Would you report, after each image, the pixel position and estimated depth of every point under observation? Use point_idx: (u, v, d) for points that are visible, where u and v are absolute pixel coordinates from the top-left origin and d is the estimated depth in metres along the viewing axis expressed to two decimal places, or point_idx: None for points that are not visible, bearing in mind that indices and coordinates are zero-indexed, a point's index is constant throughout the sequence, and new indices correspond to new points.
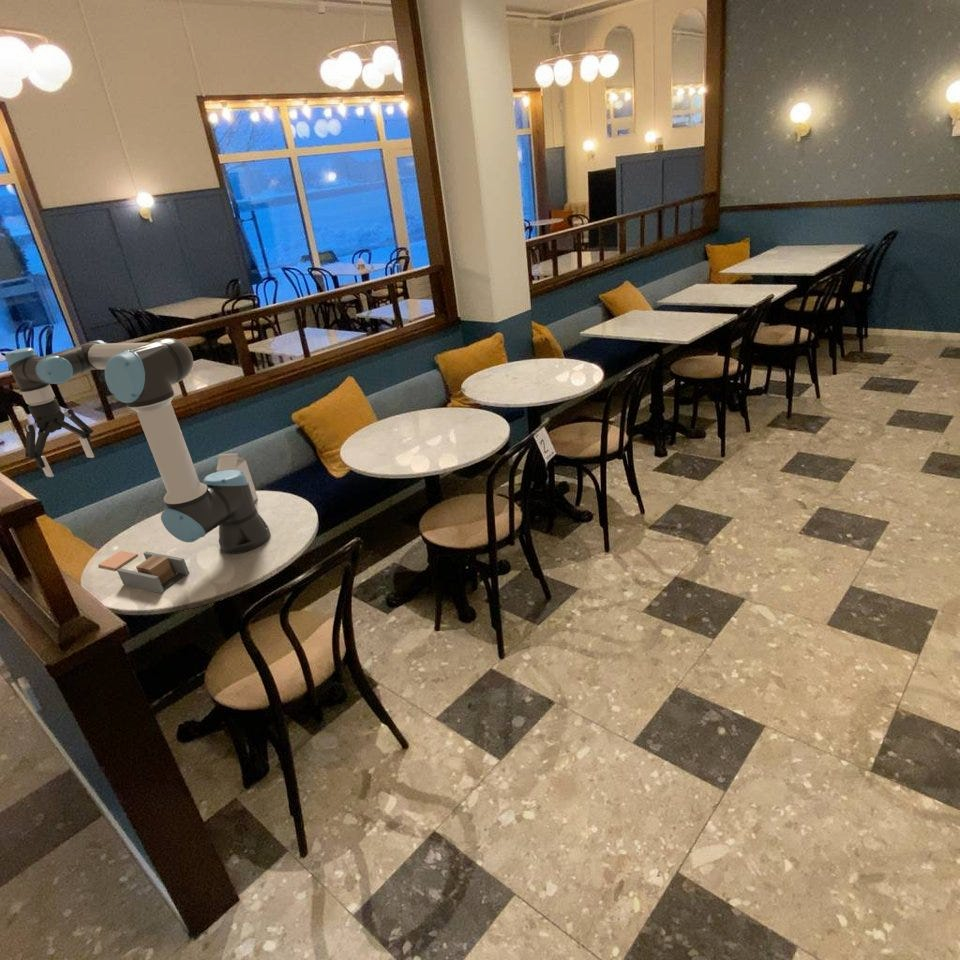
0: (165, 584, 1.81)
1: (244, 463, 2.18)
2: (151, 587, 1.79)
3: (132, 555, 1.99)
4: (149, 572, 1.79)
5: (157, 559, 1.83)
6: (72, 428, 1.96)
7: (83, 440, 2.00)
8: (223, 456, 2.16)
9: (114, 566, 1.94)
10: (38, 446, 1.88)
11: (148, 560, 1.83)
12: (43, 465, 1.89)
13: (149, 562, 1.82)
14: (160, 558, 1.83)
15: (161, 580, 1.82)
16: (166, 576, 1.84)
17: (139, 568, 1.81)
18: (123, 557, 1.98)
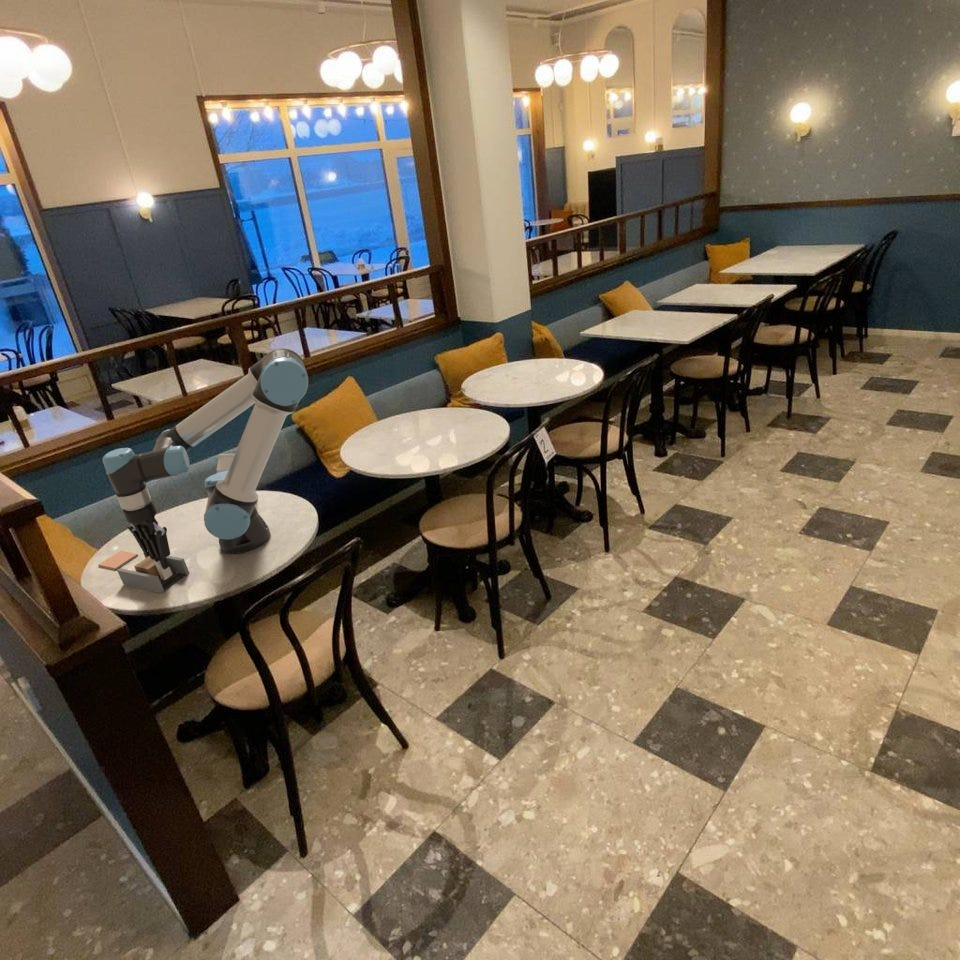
0: (165, 584, 1.81)
1: None
2: (151, 587, 1.79)
3: (132, 555, 1.99)
4: (147, 571, 1.80)
5: None
6: (151, 543, 1.75)
7: None
8: (223, 456, 2.16)
9: (114, 566, 1.94)
10: None
11: (146, 559, 1.84)
12: None
13: (147, 561, 1.83)
14: None
15: (159, 579, 1.82)
16: None
17: (138, 568, 1.81)
18: (123, 557, 1.98)
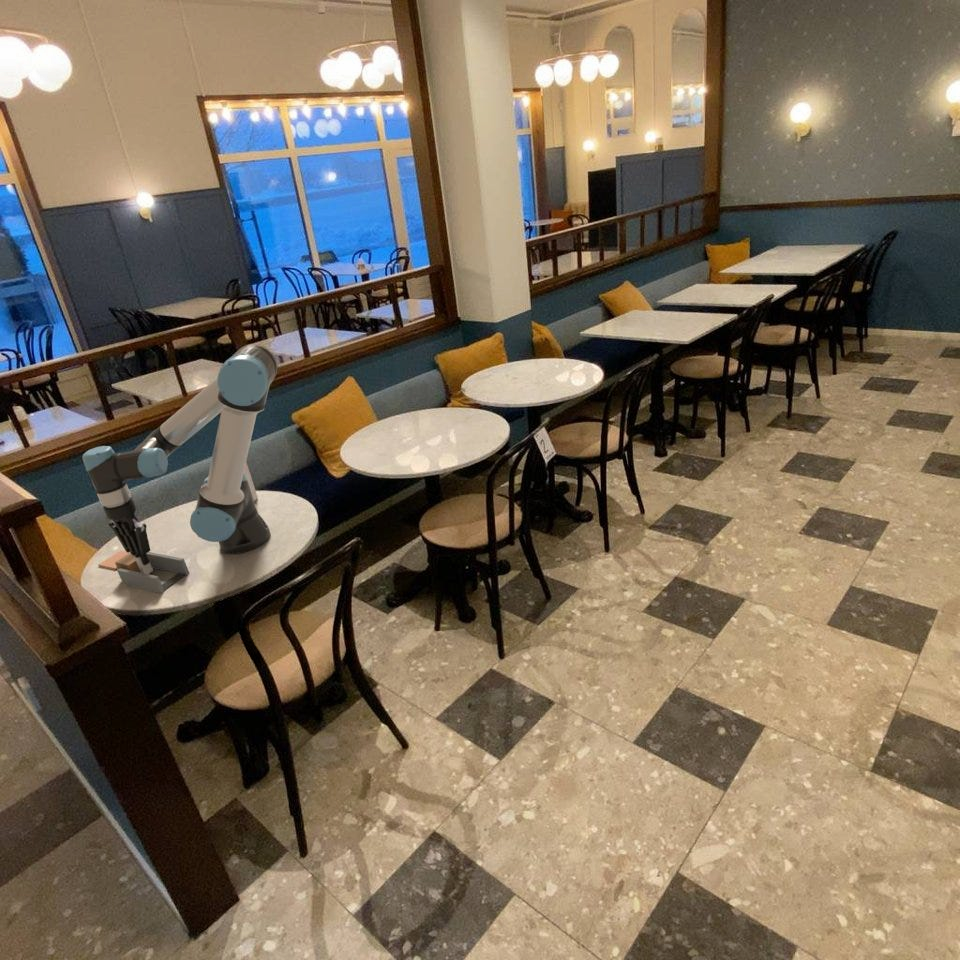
0: (165, 584, 1.81)
1: None
2: (151, 587, 1.79)
3: None
4: (128, 567, 1.83)
5: None
6: (131, 539, 1.79)
7: None
8: None
9: (114, 566, 1.94)
10: None
11: (127, 556, 1.87)
12: None
13: (128, 558, 1.86)
14: None
15: None
16: None
17: (118, 564, 1.84)
18: None
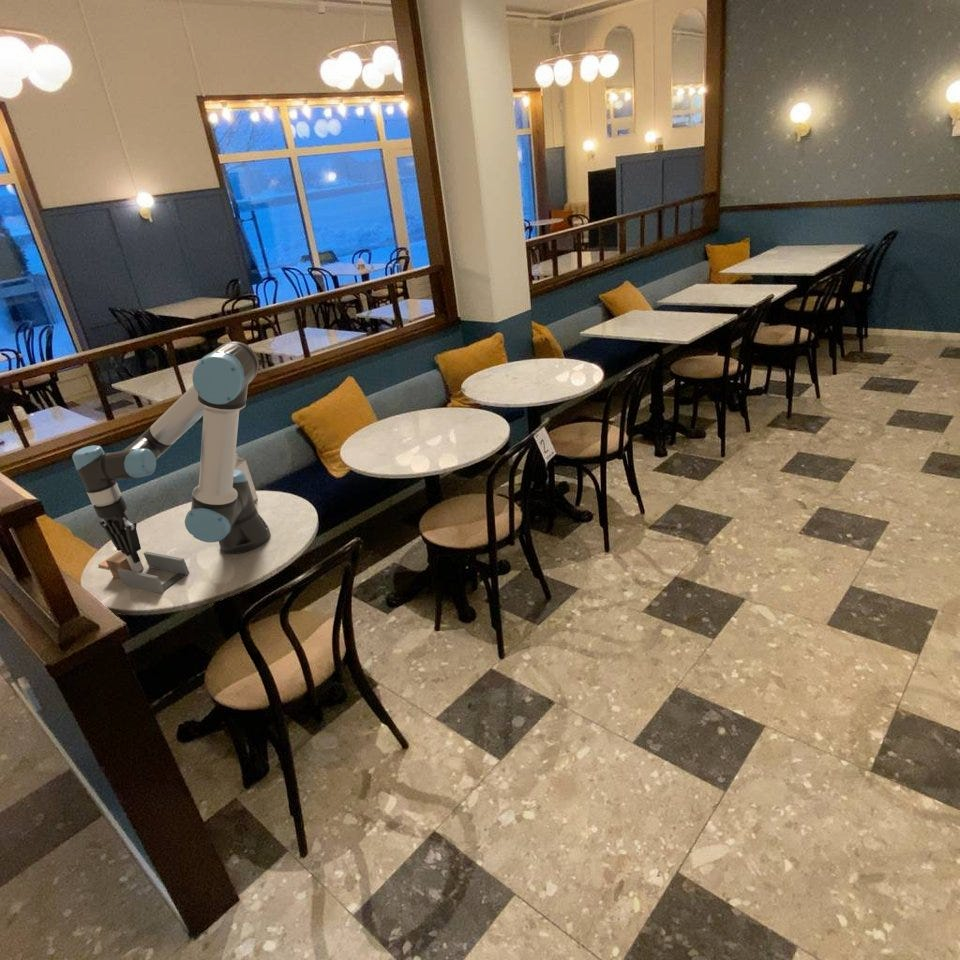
0: (165, 584, 1.81)
1: (244, 463, 2.18)
2: (151, 587, 1.79)
3: None
4: (118, 565, 1.85)
5: None
6: (122, 538, 1.81)
7: None
8: None
9: None
10: None
11: (118, 554, 1.89)
12: None
13: (119, 555, 1.88)
14: None
15: None
16: None
17: (109, 562, 1.86)
18: None
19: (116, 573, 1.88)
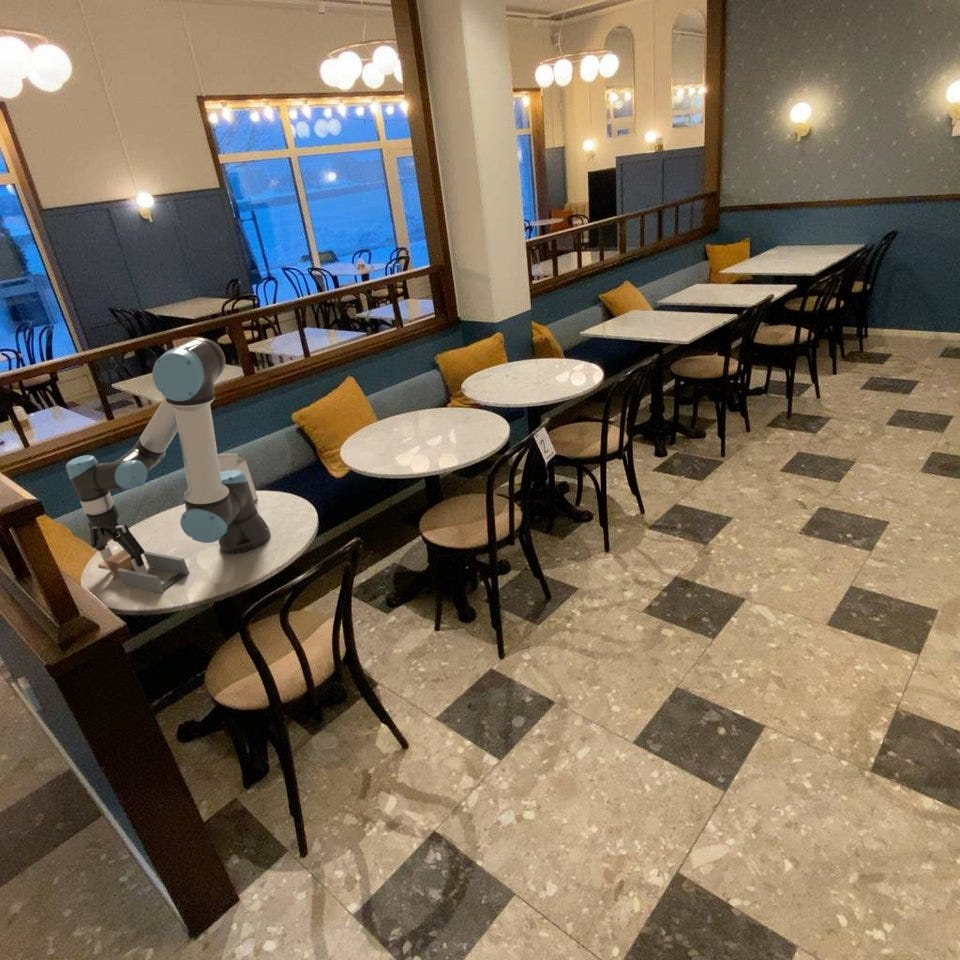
0: (165, 584, 1.81)
1: (244, 463, 2.18)
2: (151, 587, 1.79)
3: None
4: (118, 566, 1.85)
5: (126, 554, 1.89)
6: (120, 544, 1.83)
7: None
8: (223, 456, 2.16)
9: None
10: None
11: (118, 554, 1.89)
12: None
13: (119, 556, 1.88)
14: None
15: None
16: None
17: (109, 562, 1.86)
18: None
19: (116, 573, 1.88)
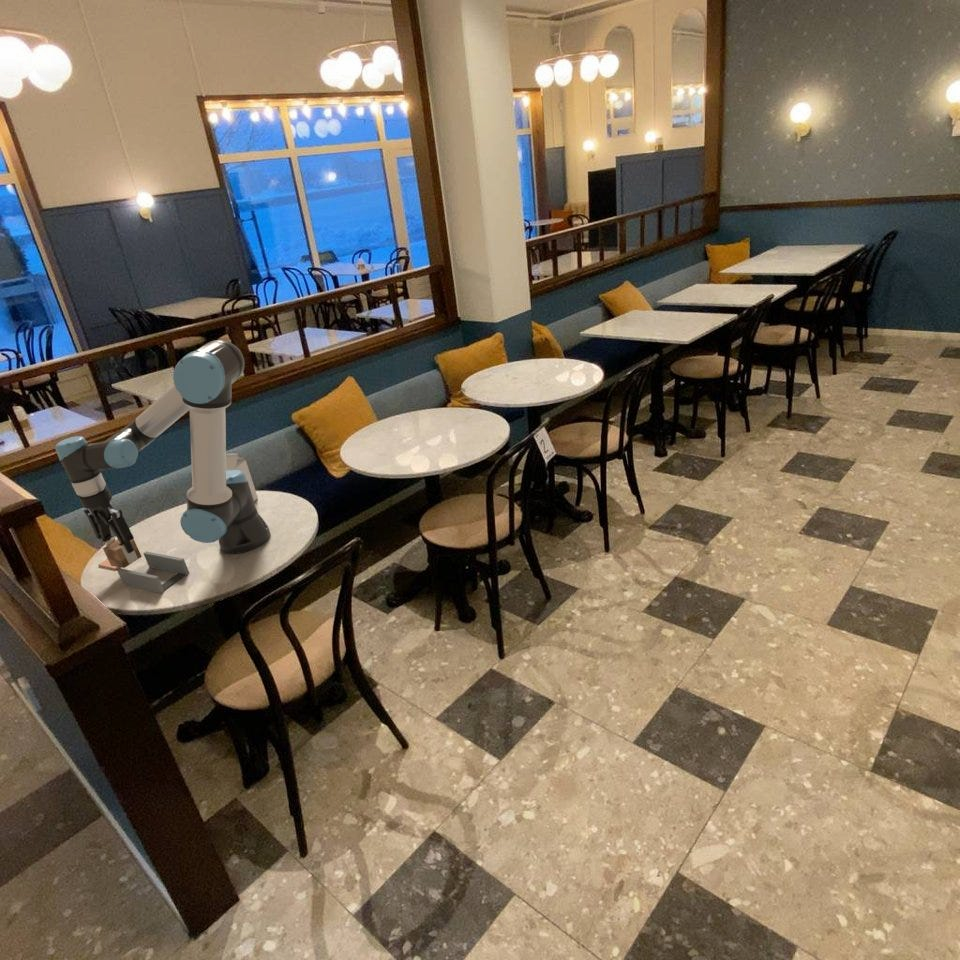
0: (165, 584, 1.81)
1: (244, 463, 2.18)
2: (151, 587, 1.79)
3: None
4: (115, 553, 1.83)
5: None
6: (111, 528, 1.81)
7: None
8: None
9: (114, 566, 1.94)
10: None
11: (115, 542, 1.87)
12: None
13: (116, 543, 1.86)
14: None
15: None
16: None
17: (106, 550, 1.85)
18: None
19: (113, 561, 1.86)
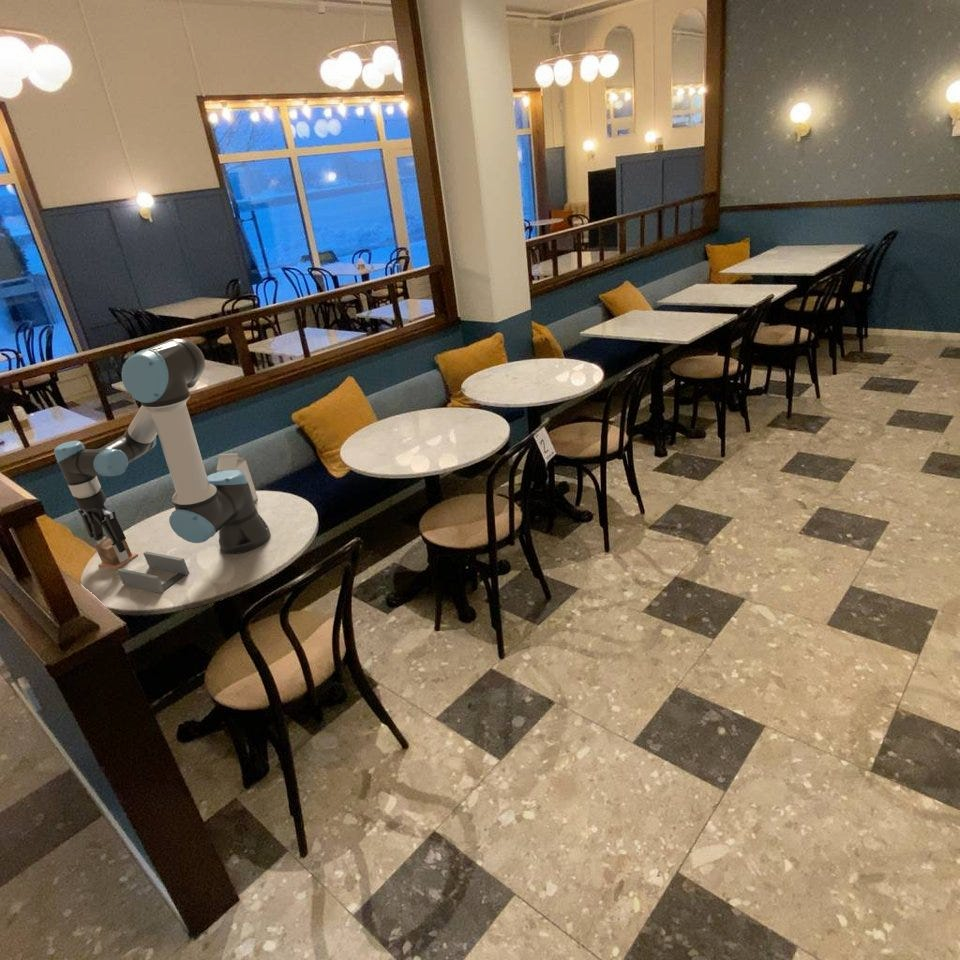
0: (165, 584, 1.81)
1: (244, 463, 2.18)
2: (151, 587, 1.79)
3: (132, 555, 1.99)
4: (107, 552, 1.92)
5: None
6: (104, 528, 1.90)
7: None
8: (223, 456, 2.16)
9: (114, 566, 1.94)
10: None
11: (107, 541, 1.96)
12: None
13: (108, 542, 1.95)
14: None
15: None
16: None
17: (98, 548, 1.94)
18: None
19: (105, 559, 1.95)
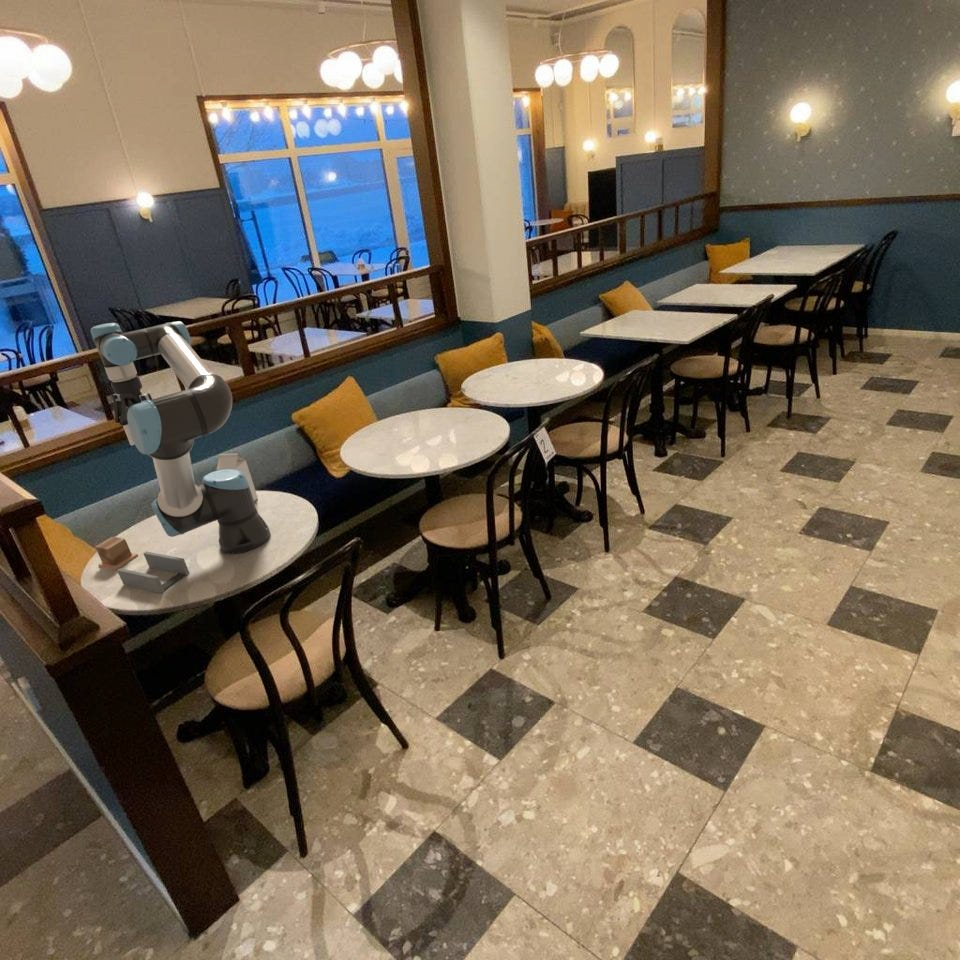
0: (165, 584, 1.81)
1: (244, 463, 2.18)
2: (151, 587, 1.79)
3: (132, 555, 1.99)
4: (107, 552, 1.92)
5: (115, 540, 1.96)
6: None
7: None
8: (223, 456, 2.16)
9: (114, 566, 1.94)
10: None
11: (107, 541, 1.96)
12: None
13: (108, 542, 1.95)
14: (118, 539, 1.96)
15: (119, 559, 1.95)
16: (124, 556, 1.96)
17: (98, 548, 1.94)
18: None
19: (105, 559, 1.95)
